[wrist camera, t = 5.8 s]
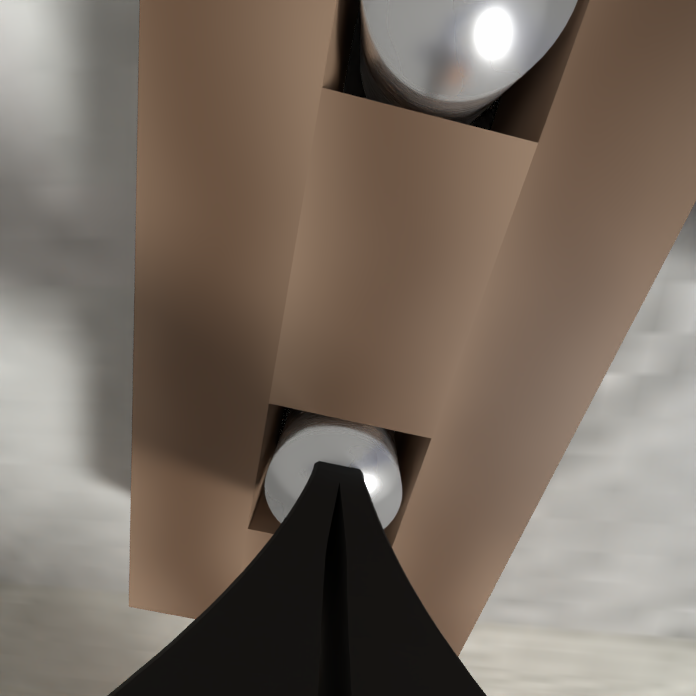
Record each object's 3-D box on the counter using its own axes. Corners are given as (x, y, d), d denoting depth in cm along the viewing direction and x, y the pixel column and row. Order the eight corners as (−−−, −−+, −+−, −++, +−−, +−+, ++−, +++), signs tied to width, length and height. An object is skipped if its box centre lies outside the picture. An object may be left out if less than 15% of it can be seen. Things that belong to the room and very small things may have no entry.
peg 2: (525, -9, 9) (636, -166, 6) (474, 156, 11) (536, 119, 7) (380, -49, 9) (393, -237, 5) (346, 123, 11) (338, 68, 7)
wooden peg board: (769, -228, 8) (1123, -620, 4) (431, 567, 17) (452, 667, 13) (258, -388, 8) (158, -985, 4) (182, 517, 16) (128, 606, 12)
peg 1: (402, 386, 13) (419, 450, 10) (376, 470, 15) (382, 555, 11) (299, 363, 13) (275, 420, 9) (283, 451, 15) (256, 530, 11)
